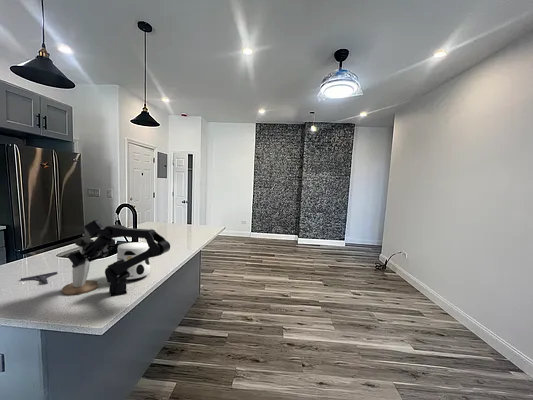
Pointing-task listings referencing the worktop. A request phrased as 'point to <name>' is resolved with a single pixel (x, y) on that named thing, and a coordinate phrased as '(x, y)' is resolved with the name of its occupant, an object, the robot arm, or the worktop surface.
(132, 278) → the milk container
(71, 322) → the worktop surface
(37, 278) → the bracket
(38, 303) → the worktop surface
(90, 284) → the walnut board
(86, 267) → the low poly bottle
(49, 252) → the worktop surface
